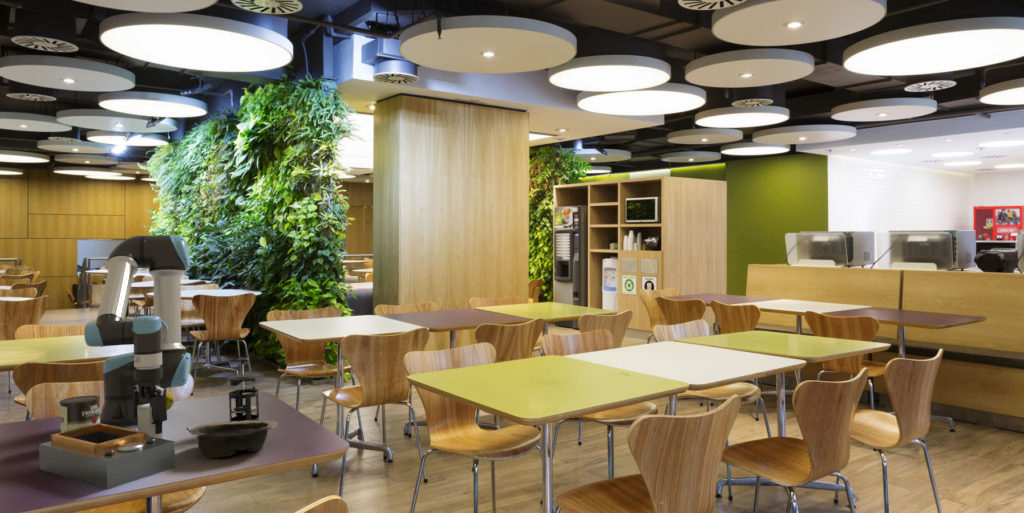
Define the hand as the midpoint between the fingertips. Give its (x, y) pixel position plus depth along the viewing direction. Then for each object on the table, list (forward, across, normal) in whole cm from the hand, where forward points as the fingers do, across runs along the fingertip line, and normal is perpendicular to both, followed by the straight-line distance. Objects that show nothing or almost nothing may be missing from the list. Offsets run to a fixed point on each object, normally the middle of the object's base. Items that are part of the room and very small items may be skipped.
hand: (150, 442), depth 202 cm
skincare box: (+1, 0, 0) cm, 1 cm away
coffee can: (+1, -19, -10) cm, 21 cm away
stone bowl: (+1, +28, +8) cm, 29 cm away
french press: (+1, +11, +25) cm, 27 cm away
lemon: (+1, -35, +26) cm, 44 cm away
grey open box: (0, +11, -19) cm, 22 cm away
